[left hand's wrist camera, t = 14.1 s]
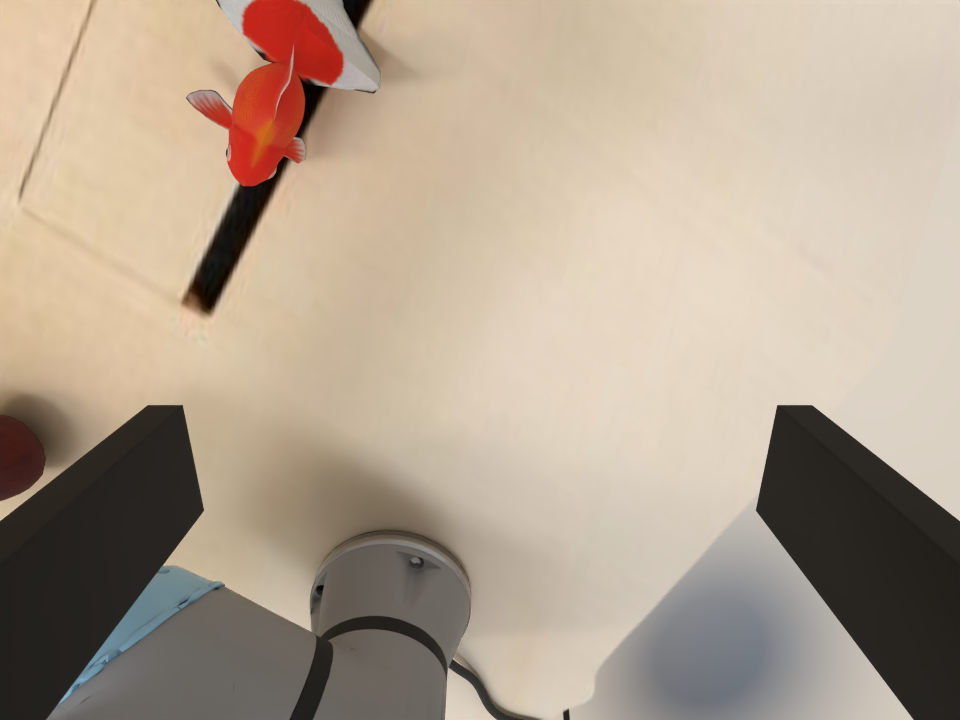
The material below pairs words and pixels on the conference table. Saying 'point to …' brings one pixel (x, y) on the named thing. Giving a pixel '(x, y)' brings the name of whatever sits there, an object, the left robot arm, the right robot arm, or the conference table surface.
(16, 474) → the dark maroon plum
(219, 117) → the fish
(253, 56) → the conference table surface
